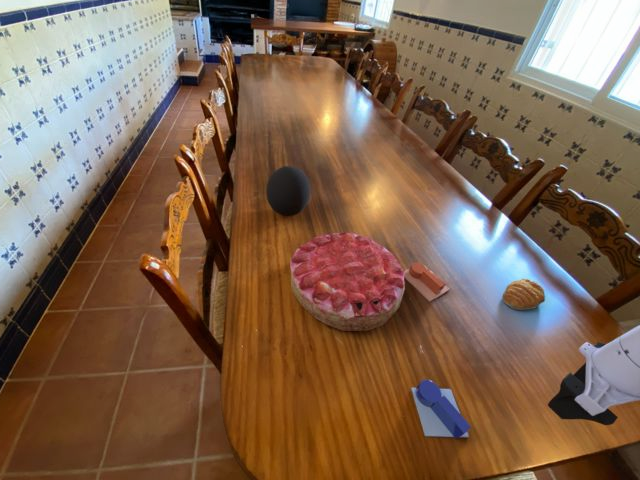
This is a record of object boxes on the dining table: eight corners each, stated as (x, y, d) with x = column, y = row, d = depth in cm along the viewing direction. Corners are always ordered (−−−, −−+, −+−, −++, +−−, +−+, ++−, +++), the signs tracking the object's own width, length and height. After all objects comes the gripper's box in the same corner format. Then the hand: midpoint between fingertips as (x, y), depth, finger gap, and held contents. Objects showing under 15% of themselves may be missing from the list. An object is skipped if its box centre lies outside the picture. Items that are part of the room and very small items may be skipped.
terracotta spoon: (443, 290, 69) (448, 282, 67) (433, 296, 67) (438, 288, 65) (415, 265, 74) (419, 257, 72) (405, 270, 73) (409, 262, 71)
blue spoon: (466, 429, 48) (475, 423, 46) (452, 442, 46) (460, 437, 44) (424, 380, 53) (431, 373, 51) (410, 390, 51) (416, 383, 50)
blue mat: (449, 389, 52) (450, 388, 52) (468, 437, 47) (469, 437, 47) (411, 388, 52) (411, 387, 52) (424, 436, 47) (425, 435, 46)
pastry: (521, 319, 65) (531, 309, 62) (492, 296, 69) (501, 285, 67) (543, 302, 69) (553, 292, 66) (514, 281, 73) (523, 271, 71)
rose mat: (449, 290, 69) (449, 289, 69) (429, 302, 67) (430, 301, 66) (419, 264, 75) (419, 263, 75) (399, 273, 72) (400, 272, 72)
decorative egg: (308, 202, 92) (315, 160, 83) (305, 229, 83) (312, 184, 73) (269, 197, 93) (271, 154, 83) (262, 223, 83) (263, 177, 74)
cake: (423, 323, 61) (435, 298, 56) (306, 345, 57) (308, 321, 52) (372, 243, 80) (378, 220, 76) (282, 256, 76) (282, 232, 71)
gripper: (631, 305, 40) (562, 349, 49) (584, 356, 34) (515, 396, 43) (701, 351, 36) (611, 390, 45) (662, 418, 30) (567, 448, 39)
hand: (568, 396), depth 44 cm, fingers open, 7 cm apart
